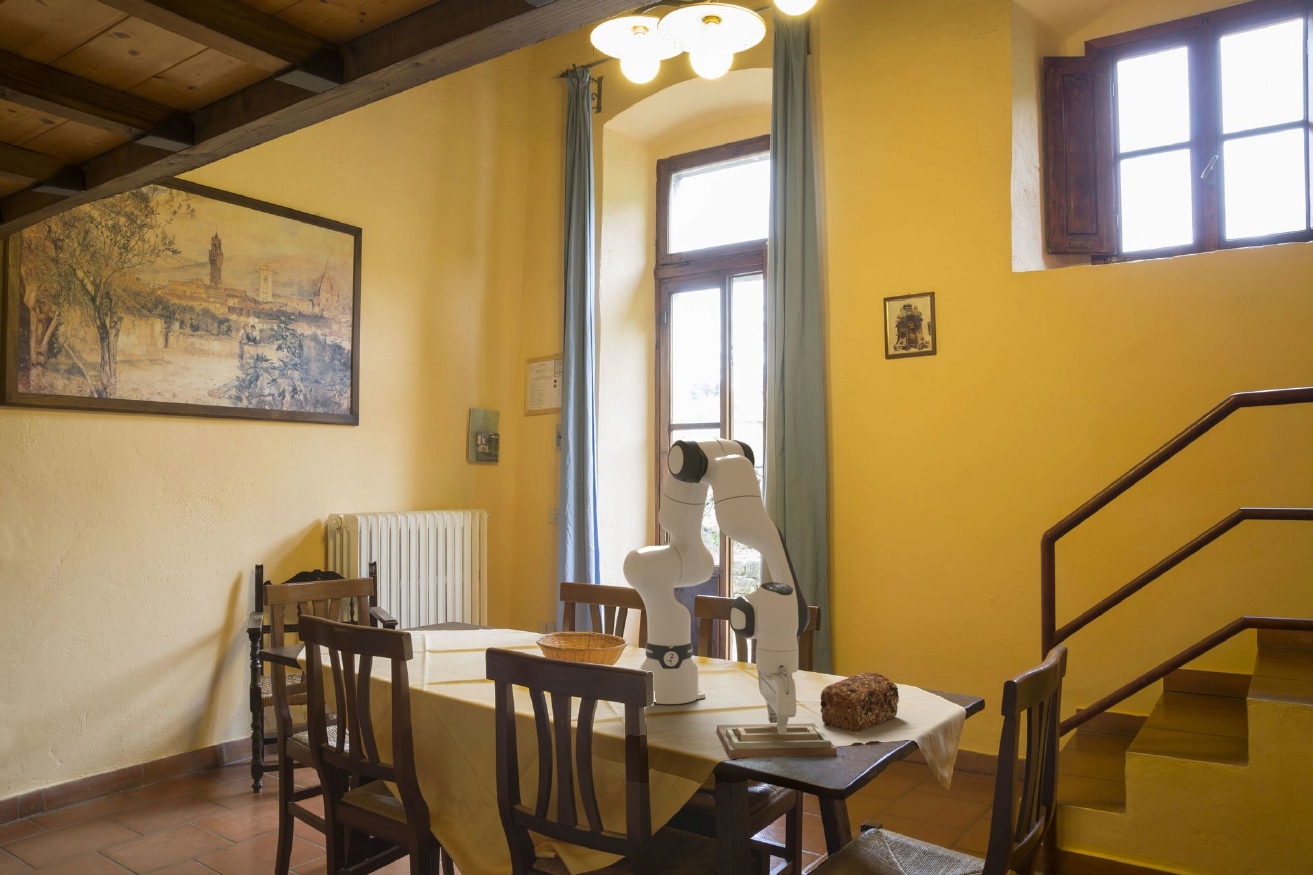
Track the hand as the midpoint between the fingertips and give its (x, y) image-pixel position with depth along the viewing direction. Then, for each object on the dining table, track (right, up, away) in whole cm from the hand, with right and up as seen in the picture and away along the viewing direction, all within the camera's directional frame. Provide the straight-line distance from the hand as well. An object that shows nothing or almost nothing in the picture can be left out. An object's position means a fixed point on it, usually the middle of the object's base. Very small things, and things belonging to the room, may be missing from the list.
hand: (777, 727), depth 184 cm
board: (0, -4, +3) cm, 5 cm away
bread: (+22, -6, +21) cm, 31 cm away
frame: (0, -3, 0) cm, 3 cm away
